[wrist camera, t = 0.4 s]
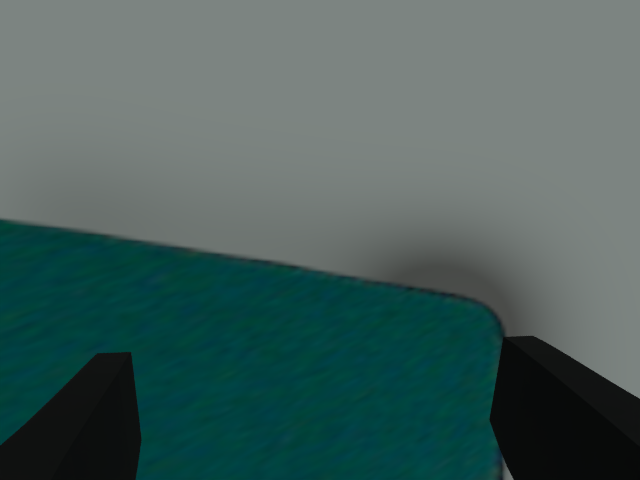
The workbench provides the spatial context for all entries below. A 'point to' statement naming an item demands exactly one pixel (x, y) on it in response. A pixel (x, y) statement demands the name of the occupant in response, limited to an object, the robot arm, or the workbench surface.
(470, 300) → the workbench surface
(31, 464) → the robot arm
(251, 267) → the workbench surface
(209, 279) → the workbench surface
